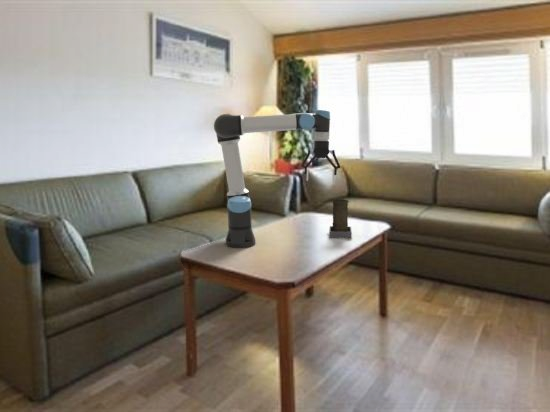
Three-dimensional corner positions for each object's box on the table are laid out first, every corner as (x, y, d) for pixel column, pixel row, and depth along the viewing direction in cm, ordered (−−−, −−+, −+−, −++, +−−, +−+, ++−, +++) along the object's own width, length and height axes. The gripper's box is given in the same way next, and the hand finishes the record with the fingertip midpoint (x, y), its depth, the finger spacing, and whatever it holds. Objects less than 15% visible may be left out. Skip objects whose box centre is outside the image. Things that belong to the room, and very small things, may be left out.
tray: (329, 237, 242) (329, 231, 241) (329, 232, 253) (329, 226, 253) (351, 238, 240) (351, 231, 240) (350, 232, 252) (351, 226, 251)
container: (348, 236, 241) (348, 202, 238) (330, 235, 243) (331, 201, 240) (349, 231, 250) (349, 199, 247) (332, 231, 252) (332, 198, 248)
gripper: (297, 140, 237) (295, 181, 241) (346, 141, 234) (344, 182, 238) (298, 139, 244) (297, 179, 248) (346, 140, 241) (344, 180, 245)
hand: (320, 181), depth 243 cm, fingers open, 13 cm apart
